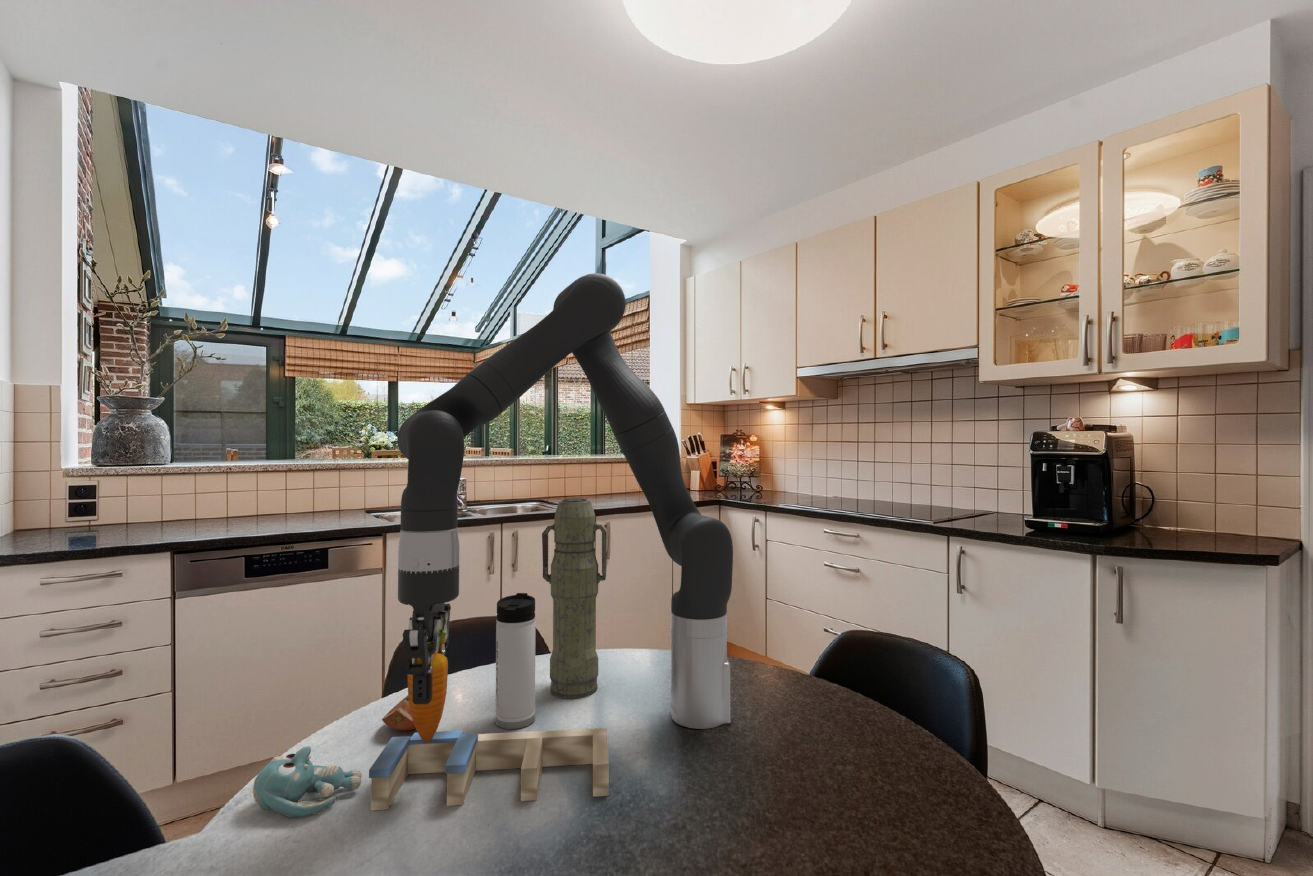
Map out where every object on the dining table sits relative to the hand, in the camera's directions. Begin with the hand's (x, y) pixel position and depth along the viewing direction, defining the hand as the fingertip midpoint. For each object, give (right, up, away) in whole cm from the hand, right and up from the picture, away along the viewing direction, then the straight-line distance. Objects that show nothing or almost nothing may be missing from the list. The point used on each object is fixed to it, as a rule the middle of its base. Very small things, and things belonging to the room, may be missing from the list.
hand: (428, 694), depth 78 cm
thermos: (+14, -13, +32) cm, 38 cm away
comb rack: (+9, -12, +1) cm, 15 cm away
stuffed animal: (-14, -13, -3) cm, 19 cm away
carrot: (0, -7, 0) cm, 7 cm away
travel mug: (+7, -13, +19) cm, 24 cm away
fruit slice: (-10, -13, +17) cm, 23 cm away
